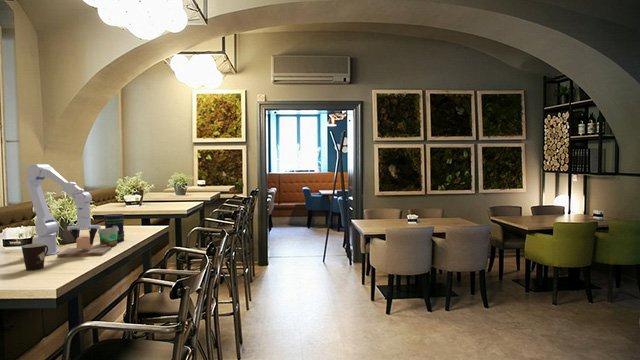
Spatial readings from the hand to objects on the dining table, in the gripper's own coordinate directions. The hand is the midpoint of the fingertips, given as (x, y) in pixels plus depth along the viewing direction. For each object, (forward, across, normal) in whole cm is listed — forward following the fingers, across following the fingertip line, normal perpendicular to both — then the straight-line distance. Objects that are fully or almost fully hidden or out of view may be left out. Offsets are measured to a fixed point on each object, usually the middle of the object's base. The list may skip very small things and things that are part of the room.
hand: (84, 244), depth 218 cm
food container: (+5, +8, +16) cm, 18 cm away
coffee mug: (+5, -10, -27) cm, 29 cm away
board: (+4, 0, 0) cm, 4 cm away
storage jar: (+5, +6, +30) cm, 31 cm away
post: (+3, 0, 0) cm, 3 cm away
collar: (+2, 0, 0) cm, 2 cm away
